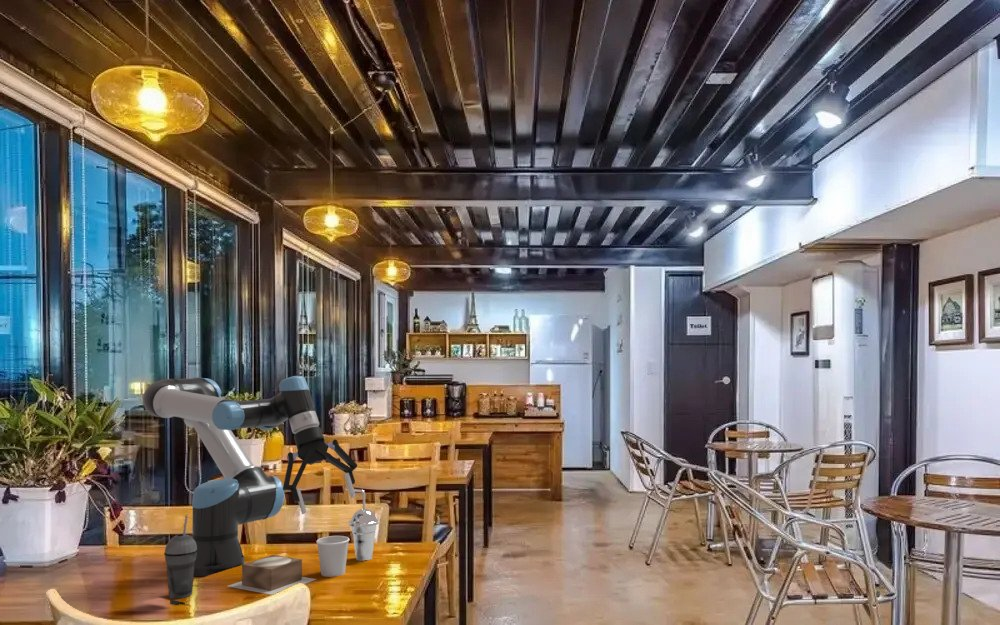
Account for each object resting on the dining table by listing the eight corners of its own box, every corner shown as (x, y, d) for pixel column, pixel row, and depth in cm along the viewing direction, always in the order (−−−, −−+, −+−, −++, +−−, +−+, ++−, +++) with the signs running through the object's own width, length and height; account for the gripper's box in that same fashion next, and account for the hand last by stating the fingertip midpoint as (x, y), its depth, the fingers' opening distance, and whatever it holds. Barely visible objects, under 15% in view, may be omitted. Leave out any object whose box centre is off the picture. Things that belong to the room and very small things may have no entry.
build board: (226, 592, 181) (226, 586, 181) (270, 577, 193) (270, 571, 193) (274, 601, 173) (274, 595, 173) (316, 585, 185) (316, 579, 185)
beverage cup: (170, 597, 177) (171, 512, 179) (201, 596, 178) (202, 511, 179) (158, 607, 170) (159, 519, 171) (191, 606, 171) (192, 518, 172)
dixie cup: (345, 583, 186) (345, 543, 187) (312, 584, 186) (312, 543, 187) (352, 574, 194) (352, 535, 195) (321, 574, 194) (320, 535, 195)
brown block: (242, 585, 181) (242, 564, 181) (273, 574, 190) (273, 554, 190) (271, 590, 176) (271, 569, 176) (301, 579, 185) (301, 558, 185)
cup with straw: (370, 563, 204) (369, 490, 206) (341, 561, 207) (341, 489, 208) (384, 555, 212) (384, 485, 214) (356, 553, 215) (356, 484, 216)
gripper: (262, 439, 195) (284, 517, 189) (352, 414, 207) (376, 487, 201) (259, 446, 201) (280, 522, 195) (347, 422, 213) (370, 493, 207)
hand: (329, 505), depth 198 cm, fingers open, 13 cm apart
